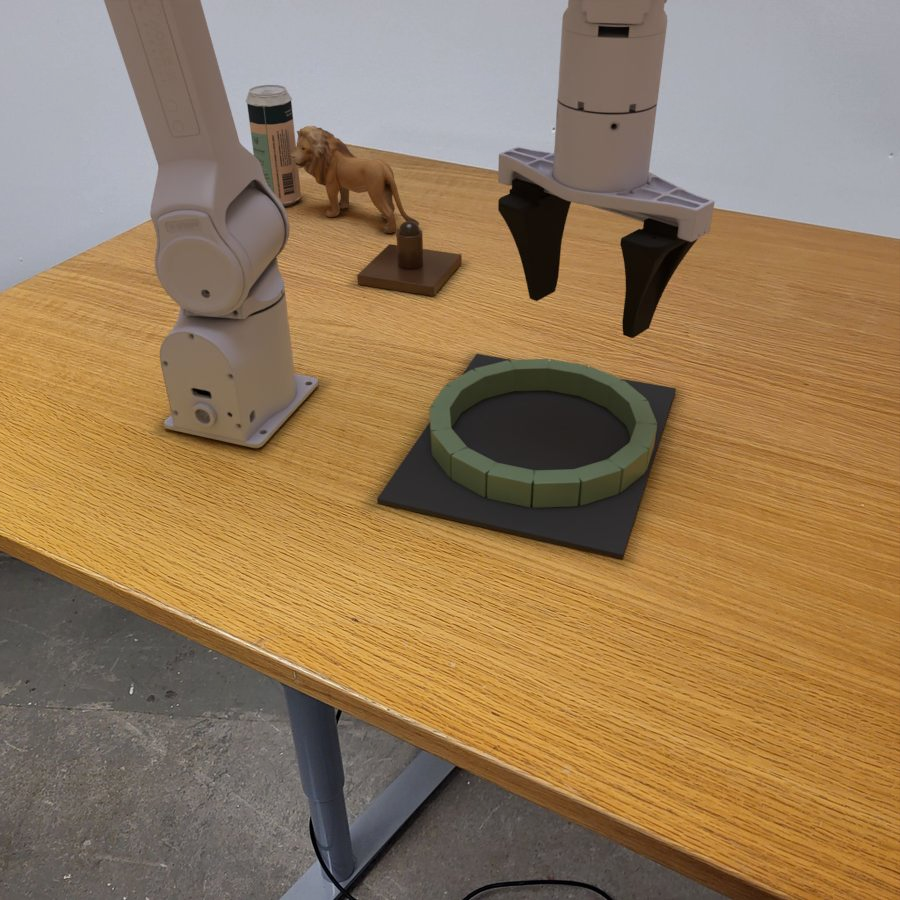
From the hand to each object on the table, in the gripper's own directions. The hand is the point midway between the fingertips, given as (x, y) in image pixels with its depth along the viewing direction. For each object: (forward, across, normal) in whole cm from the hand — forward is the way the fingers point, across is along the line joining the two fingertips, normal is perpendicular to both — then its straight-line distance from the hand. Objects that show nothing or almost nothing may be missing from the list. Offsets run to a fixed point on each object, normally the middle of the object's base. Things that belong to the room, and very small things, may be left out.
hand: (587, 312), depth 62 cm
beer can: (+10, +52, -14) cm, 55 cm away
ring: (+9, +1, +3) cm, 10 cm away
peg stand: (+9, +27, -10) cm, 31 cm away
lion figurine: (+10, +42, -16) cm, 46 cm away
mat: (+9, +1, +3) cm, 10 cm away
